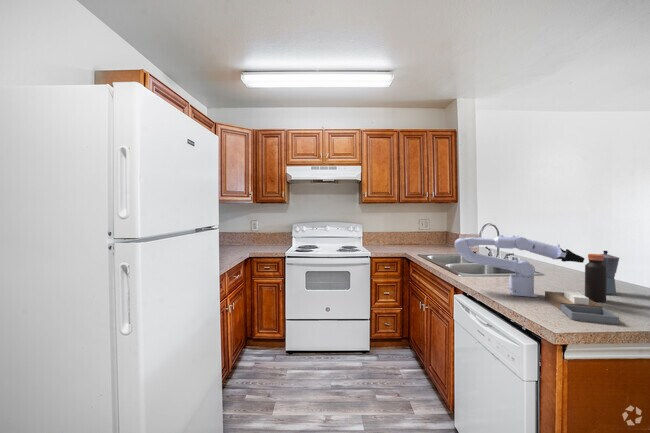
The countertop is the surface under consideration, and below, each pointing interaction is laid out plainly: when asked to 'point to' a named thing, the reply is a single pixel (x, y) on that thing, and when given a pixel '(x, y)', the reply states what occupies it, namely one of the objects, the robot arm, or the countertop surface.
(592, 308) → the box
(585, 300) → the tile front
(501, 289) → the countertop surface
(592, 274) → the bottle
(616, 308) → the countertop surface
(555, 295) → the walnut board
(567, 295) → the tile back
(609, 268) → the moka pot
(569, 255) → the robot arm
